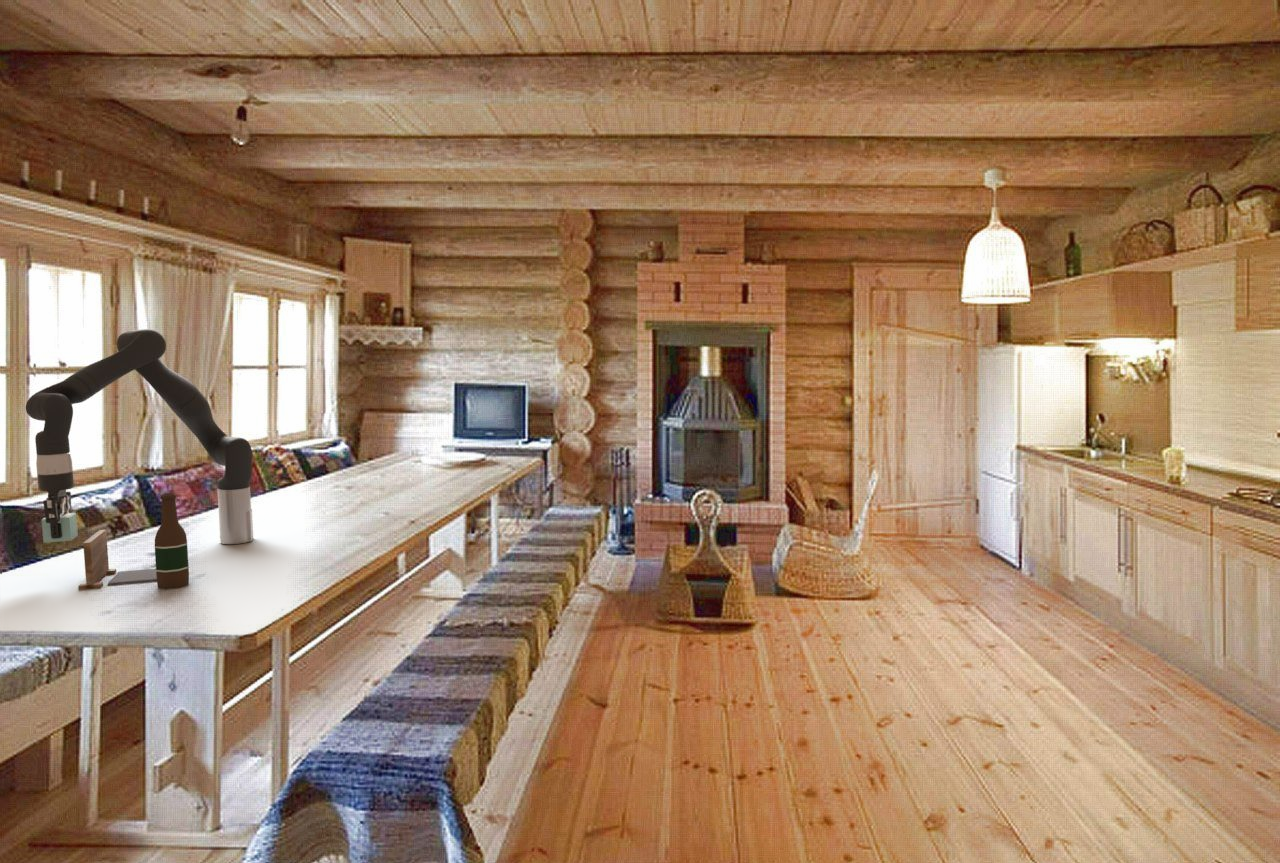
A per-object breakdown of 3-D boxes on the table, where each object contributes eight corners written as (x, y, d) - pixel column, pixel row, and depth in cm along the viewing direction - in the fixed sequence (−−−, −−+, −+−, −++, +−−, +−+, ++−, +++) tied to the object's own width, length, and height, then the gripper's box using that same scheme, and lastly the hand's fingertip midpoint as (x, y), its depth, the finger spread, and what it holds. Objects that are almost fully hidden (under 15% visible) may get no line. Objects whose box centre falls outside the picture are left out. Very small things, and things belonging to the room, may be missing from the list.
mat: (168, 569, 232) (168, 567, 232) (160, 580, 220) (160, 578, 220) (118, 573, 228) (118, 571, 227) (107, 585, 216) (107, 583, 216)
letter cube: (77, 535, 220) (75, 511, 219) (71, 540, 214) (69, 516, 214) (51, 537, 218) (48, 513, 217) (43, 542, 212) (41, 518, 212)
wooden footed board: (116, 572, 229) (113, 529, 228) (101, 587, 214) (98, 541, 213) (95, 574, 227) (92, 530, 226) (78, 589, 212) (75, 543, 211)
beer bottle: (165, 581, 220) (159, 491, 217) (195, 580, 220) (190, 490, 218) (150, 590, 212) (144, 496, 210) (182, 589, 213) (176, 496, 210)
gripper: (63, 474, 209) (69, 540, 211) (80, 466, 222) (85, 528, 224) (28, 476, 206) (34, 543, 208) (46, 468, 220) (52, 530, 221)
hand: (60, 535), depth 216 cm, fingers closed on letter cube, 6 cm apart
